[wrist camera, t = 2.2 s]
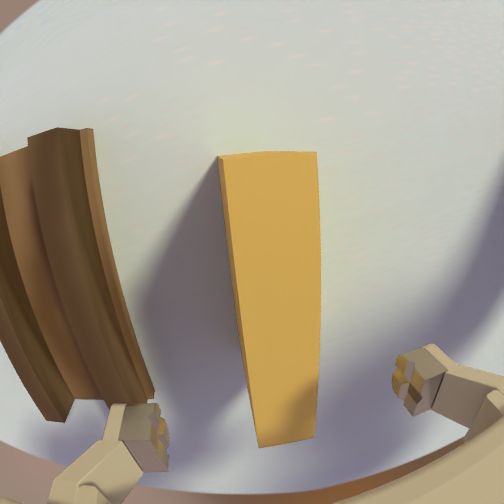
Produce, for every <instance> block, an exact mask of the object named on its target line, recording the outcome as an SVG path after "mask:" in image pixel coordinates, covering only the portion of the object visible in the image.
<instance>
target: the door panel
mask: <svg viewBox="0 0 504 504" xmlns="http://www.w3.org/2000/svg"><path fill="white" fill-rule="evenodd" d="M217 157H218V167H219V176H220V185H221V194H222V203H223V212H224V221H225V230H226V238H227V246H228V255H229V263H230V271H231V279H232V287H233V295H234V302H235V310H236V317H237V325H238V332H239V339H240V347H241V354H242V359H243V365H244V371H245V376H246V382H247V388H248V393H249V399H250V404H251V409H252V415H253V420H254V425H255V431H256V436H257V441H258V446H259V448H264V447H270V446H276V445H281V444H286V443H291V442H296V441H301V440H306V439H310V438H314V433H315V421H316V408H317V393H318V376H319V354H320V322H321V239H320V207H319V185H318V167H317V152H297V151H264V152H252V153H242V154H232V155H222V156H217Z"/></svg>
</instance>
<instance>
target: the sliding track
mask: <svg viewBox="0 0 504 504" xmlns="http://www.w3.org/2000/svg"><path fill="white" fill-rule="evenodd" d="M27 139H28V147H25V148H22V149H19V150H17V151H14V152H11V153H9V154H6V155H4V156H1V157H0V341H1V343H2V345H3V347H4V349H5V351H6V353H7V355H8V357H9V359H10V361H11V363H12V365H13V367H14V368H15V370H16V372H17V374H18V376H19V377H20V379H21V381H22V383H23V384H24V386H25V388H26V390H27V391H28V393H29V395H30V396H31V398H32V399H33V401H34V403H35V404H36V406H37V407H38V409H39V410H40V412H41V413H42V415H43V416H44V418H45V419H46V421H54V422H63V423H65V421H66V419H67V416H68V414H69V411H70V409H71V406H72V404H73V401H74V399H102V400H104V401H105V403H106V405H107V406H108V408H109V410H110V407H111V406H112V405H113V404H127V403H147V400H148V399H154V393H155V390H154V387H153V384H152V382H151V379H150V376H149V374H148V371H147V368H146V366H145V363H144V360H143V357H142V354H141V351H140V348H139V345H138V342H137V339H136V336H135V333H134V330H133V327H132V324H131V320H130V317H129V314H128V310H127V307H126V303H125V300H124V296H123V293H122V289H121V285H120V281H119V277H118V274H117V270H116V265H115V261H114V257H113V253H112V248H111V244H110V239H109V234H108V229H107V224H106V219H105V214H104V208H103V203H102V197H101V190H100V184H99V177H98V170H97V162H96V154H95V145H94V135H93V129H90V128H85V129H82V130H75V129H66V128H54V129H51V130H48V131H45V132H42V133H39V134H36V135H34V136H31V137H28V138H27Z"/></svg>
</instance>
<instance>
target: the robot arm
mask: <svg viewBox="0 0 504 504" xmlns="http://www.w3.org/2000/svg"><path fill="white" fill-rule="evenodd" d="M395 365H396V366H397V369H396V371H395V372H394V373H393V376H392V387H393V390H394V392H395V394H396V395H397V396H398V397H399V398H401V399H404V406H405V407H406V408H407V410H408V411H409V412H410V414H411V415H412V416H415V415H418V414H420V413H423V412H425V411H427V410H430V409H431V410H433V411H435V412H437V413H439V414H441V415H443V416H445V417H447V418H449V419H451V420H453V421H455V422H457V423H459V424H461V425H463V426H465V427H468V428H469V430H468V432H467V433H466V435H465V437H464V442H465V443H464V444H463V445H461V446H460V447H458V448H456V449H455V450H453V451H451V452H450V453H448V454H446V455H445V456H443V457H441V458H439V459H437V460H435V461H434V462H432V463H430V464H428V465H426V466H424V467H422V468H420V469H418V470H416V471H414V472H412V473H410V474H408V475H406V476H403V477H401V478H399V479H397V480H394V481H392V482H390V483H387V484H385V485H383V486H380V487H378V488H375V489H373V490H370V491H367V492H365V493H362V494H359V495H357V496H353V497H351V498H348V499H345V500H341V501H339V502H335V503H332V504H504V376H500V375H496V374H493V373H489V372H485V371H482V370H478V369H474V368H471V367H467V366H464V365H459V366H458V365H457V364H456V363H455V362H454V361H452V360H451V359H450V358H449V357H448V356H447V355H446V354H445V353H444V352H443V351H442V350H441V349H440V348H438V347H437V346H436V345H435V344H432V343H431V344H429V345H426V346H423V347H421V348H418V349H415V350H413V351H410V352H407V353H404V354H402V355H399V356H398V357H397V359H396V363H395ZM160 415H161V410H160V408H159V405H158V404H157V403H127V404H113V405H112V406H111V407H110V411H109V415H108V419H107V422H106V426H105V430H104V434H103V438H102V440H98V441H96V442H95V443H94V444H93V445H92V446H91V447H90V448H89V449H88V450H86V451H85V452H84V453H83V454H82V455H81V456H80V457H79V458H77V459H76V460H75V461H74V462H73V463H72V464H71V465H69V466H68V467H67V468H66V469H65V470H64V471H63V472H61V473H60V474H59V475H58V476H57V477H56V478H55V479H54V481H53V485H52V489H51V492H50V496H49V500H48V503H47V504H121V503H122V502H123V501H124V499H125V498H126V497H127V495H128V494H129V493H130V491H131V490H132V489H133V487H134V486H135V485H136V483H137V482H138V481H139V479H140V478H141V476H142V475H143V474H144V473H143V472H166V471H168V463H169V455H168V453H167V451H166V448H167V447H168V446H169V431H168V427H167V424H166V421H165V419H163V418H162V417H160ZM0 504H25V503H22V502H19V501H16V500H13V499H10V498H8V497H5V496H2V495H0Z"/></svg>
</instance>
